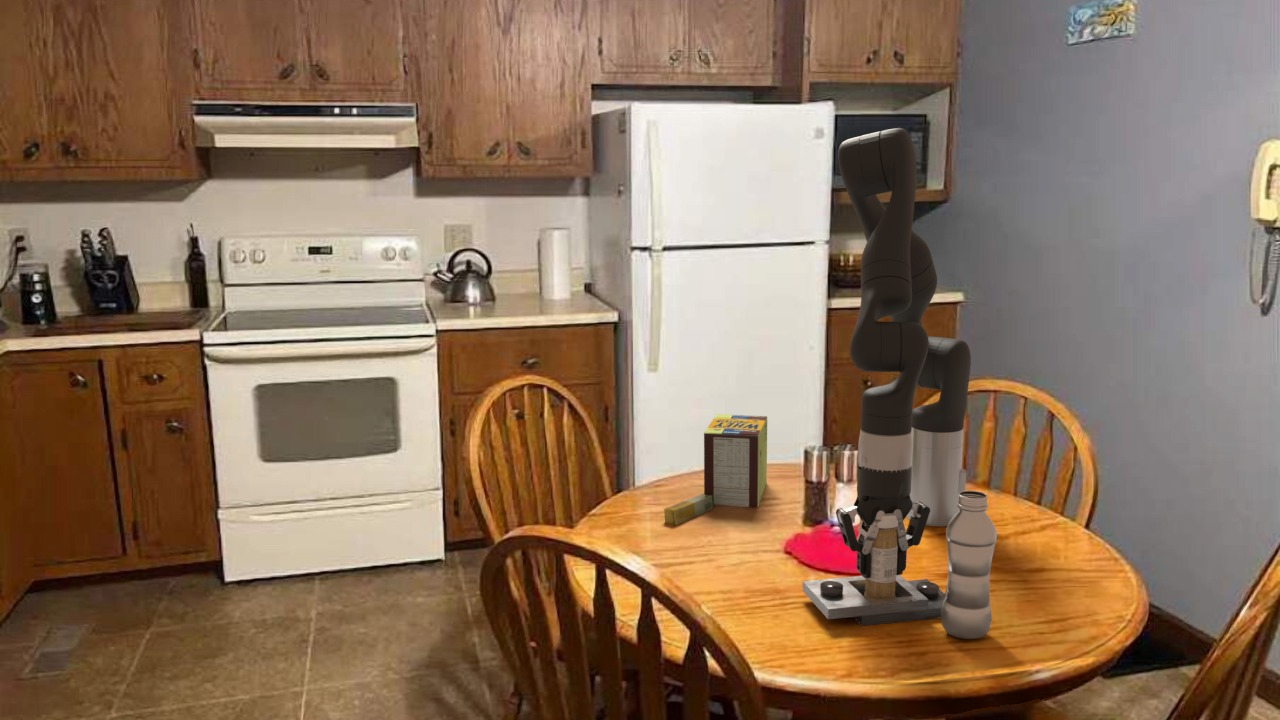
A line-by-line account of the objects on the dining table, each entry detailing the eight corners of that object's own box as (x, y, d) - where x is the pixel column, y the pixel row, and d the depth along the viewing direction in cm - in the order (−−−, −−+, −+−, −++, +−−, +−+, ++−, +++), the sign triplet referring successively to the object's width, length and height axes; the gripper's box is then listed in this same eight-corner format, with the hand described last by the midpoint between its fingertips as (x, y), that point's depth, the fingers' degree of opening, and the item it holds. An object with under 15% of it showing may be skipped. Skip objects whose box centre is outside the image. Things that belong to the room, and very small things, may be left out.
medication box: (703, 513, 188) (702, 493, 188) (715, 515, 186) (714, 494, 186) (664, 529, 179) (663, 508, 178) (676, 531, 177) (675, 509, 177)
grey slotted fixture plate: (896, 581, 151) (897, 565, 151) (927, 609, 141) (928, 591, 141) (802, 590, 148) (802, 573, 148) (828, 619, 139) (828, 601, 138)
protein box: (766, 490, 201) (768, 415, 198) (758, 515, 186) (759, 434, 183) (715, 487, 203) (715, 413, 200) (702, 511, 188) (702, 432, 186)
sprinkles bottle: (887, 591, 148) (890, 504, 146) (901, 603, 144) (905, 514, 141) (858, 593, 147) (861, 506, 145) (872, 606, 143) (875, 516, 140)
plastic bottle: (932, 625, 140) (938, 488, 136) (979, 623, 140) (986, 486, 137) (950, 646, 134) (957, 503, 130) (999, 644, 134) (1007, 501, 130)
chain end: (926, 588, 152) (927, 571, 152) (959, 615, 143) (960, 598, 142) (833, 597, 149) (834, 580, 149) (861, 625, 140) (862, 607, 139)
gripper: (919, 450, 147) (914, 560, 150) (827, 457, 144) (824, 569, 147) (944, 464, 139) (938, 580, 143) (848, 471, 137) (844, 589, 140)
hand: (880, 574), depth 145 cm, fingers closed on sprinkles bottle, 4 cm apart
